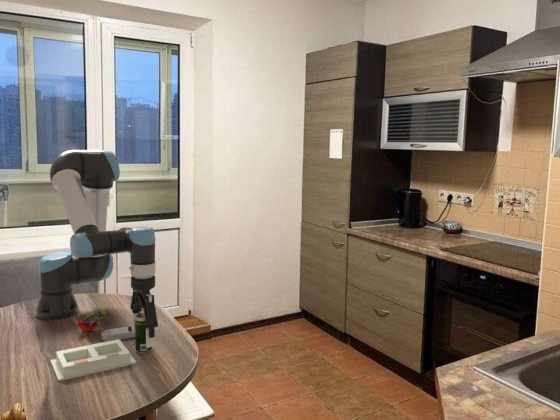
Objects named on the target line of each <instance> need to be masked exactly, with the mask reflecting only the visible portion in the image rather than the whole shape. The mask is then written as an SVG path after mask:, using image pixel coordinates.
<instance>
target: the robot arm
mask: <svg viewBox="0 0 560 420" xmlns="http://www.w3.org/2000/svg"><path fill="white" fill-rule="evenodd" d="M120 169H121V168H120V166H119V161H118V157H117V156H116V154H115V153H114V152H113V151H111V150H102V149H86V150H85V149H81V150H80V149H71V150H66V151H64V152H61V153H60V154H59V155H57V157H56V158H55V159H54V160H53V162H52V164H51V165H50V169H49V179H50V182H51V184H52V186H53V188H54V189H56V190H57V192H58V194H59V198H60V199H61V203H62V205H63V208H64V210H65V213H66V216H67V219H68V221H69V224H70V227H71V230H72V233H73V234H72V235H71V237H70V240H69V247H70V251H58V252H53V253H49V254H46V255H44V256H42V257H41V258H40V259H39V262H38V277H39V298H38V300H37V304H36V307H35V317H37V318H38V319H41V320H61V319H65V318H69V317H72V316H74V315H76V314H77V313H78V312H79V303H78V301H77V298H76V297H75V294H74V285H80V284H81V285H82V284H86V283H93V282H94V283H95V282H101V281H104V280H108V278H110V277H111V276H112V273H113V270H114V257H113V255H115V254H122V253H123V254H124V253H129V254H130V266H129V268H128V270H130V275H131V277H130V287H131V289H132V295H131V301H130V307H129V308H130V310H131V312H132V326H133V333H135V317H136V315H137V314H139V312H140V313H142V312H143V313H144V315H145V319H146V324H147V326H146V327H145V329H146V347H147V348H149V347H152V348H153V347H156V328H158V327H159V322H158V317H157V311H156V303H155V295H154V294H152V293H151V290H152V289H154V288H155V287H156V276H155V275H156V237H155V236H156V235H155V229H154V228H153V227H152V226H151V227H150V226H135V227H126V226H125V227H120V228H119V229H115V230H107V219H108V218H107V217H108V205H109V204H108V203H109V191H110V190H112V188H113V187H114V182H117V181H118V180H119V178H120V173H121V171H120ZM83 189H84V190H83Z"/></svg>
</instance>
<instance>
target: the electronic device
mask: <svg viewBox="0 0 560 420" xmlns="http://www.w3.org/2000/svg"><path fill="white" fill-rule="evenodd" d="M139 313H140V312H139ZM133 338H134V339H135V333H133V325H131V326H124V327H117V328H110V329H105V330H103V331H102V332H101V340H102V341H104V342H108V341H113V340H118V339H120V340H124V339H125V340H126V339H133Z"/></svg>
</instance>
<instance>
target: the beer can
mask: <svg viewBox="0 0 560 420" xmlns="http://www.w3.org/2000/svg"><path fill="white" fill-rule="evenodd" d="M146 326H147V324H146V319H145V315H144V312H141V313H139V314H137V315H136V317H135V337H134V339H135V340H134V341H135V342H134V345H135V346H134V347H135V348H134V349H135V352H136V353H137V354H140V355H141V354H142V355H143V354H148V353H151V352H152V350H153V347H149V348H147V347H146V329H145V327H146Z"/></svg>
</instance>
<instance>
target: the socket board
mask: <svg viewBox="0 0 560 420" xmlns="http://www.w3.org/2000/svg"><path fill="white" fill-rule="evenodd" d="M50 364H51V367H52V369H53V371H54V372H53V373H55V376H56V379H57V380H58V381H57V382H62V381H66V380H70V379H75V378H76V379H77V378H79V377H83V376H89V375H92V374H97V373H101V372H106V371H109V370H114V369H119V368H123V367H127V366H131V365H132V366H133V365H136V364H137V360H135V358H134V357H133V355H132V354H131V352H130V351H129V350H128V348H127V347H126V346H125V344H124V343H123V342H122V341H121V339H118V340H112V341H104V342H99V343H94V344H88V345H83V346H79V347H73V348H68V349H63V350H57V351H55V359H50Z"/></svg>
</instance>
